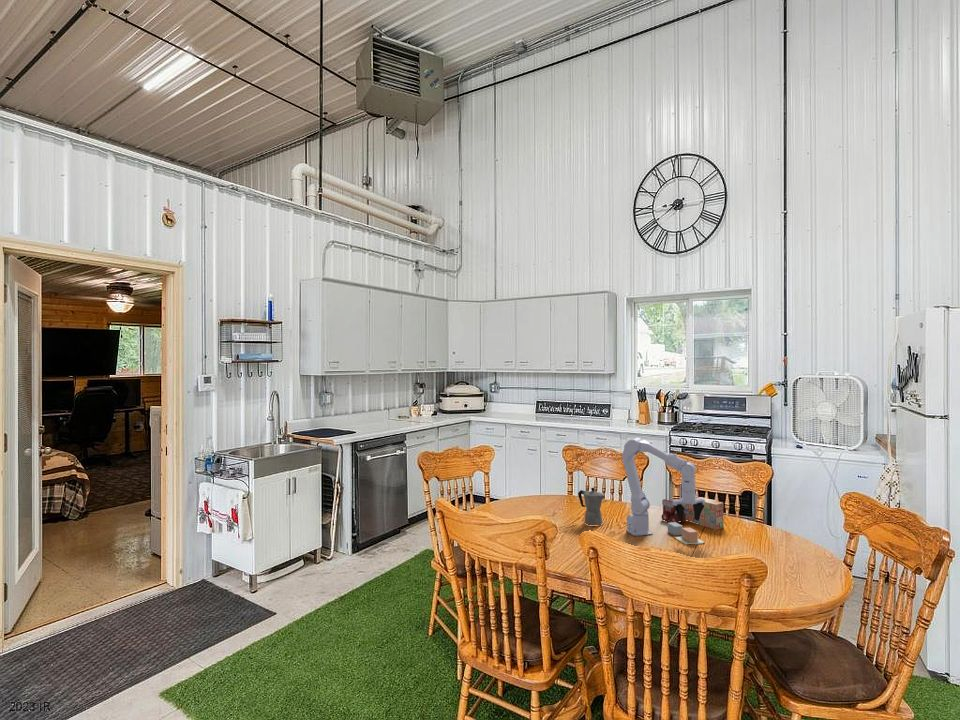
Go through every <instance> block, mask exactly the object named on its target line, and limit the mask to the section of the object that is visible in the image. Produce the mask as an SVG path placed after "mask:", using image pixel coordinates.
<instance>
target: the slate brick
mask: <svg viewBox="0 0 960 720" xmlns="http://www.w3.org/2000/svg"><path fill="white" fill-rule="evenodd" d="M682 528H684V526H683V525H682V524H680V523H679V522H678V523H676V522H671V521H670V522H667V532H668V531H669V532H670V533H669V532H668V533H669V534H671V533H672V534H674V535H682ZM672 534H671V535H672ZM674 535H673V536H674Z"/></svg>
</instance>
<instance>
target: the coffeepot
mask: <svg viewBox="0 0 960 720" xmlns="http://www.w3.org/2000/svg"><path fill="white" fill-rule="evenodd" d="M590 489H591V491H587V490H582V489H580V490H579V491H578V493H577V495H578V499H579V502H580V503H579V504H580V507H583V508H586V510H585V514H584V515H585V516H584V522H583V523H586V524H588V525H601V524H602V523H604V522H603V516H602V511H601V507H602V502H603V500H604V498H606V496H605V495H604V494H603V493H602V492H599V491H595V487H591V488H590ZM582 495H583V496H582ZM583 498H584V499H583ZM583 500H584V501H583ZM602 525H603V524H602Z"/></svg>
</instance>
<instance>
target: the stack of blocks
mask: <svg viewBox="0 0 960 720" xmlns="http://www.w3.org/2000/svg"><path fill="white" fill-rule="evenodd" d="M696 499H704V500H705V504H703V505H704V508H703V510H702V512H701V514H700V517H699V521H697V520H695V518H694V507H693V504H687V505H682V507H684V512H685V515H686V520H688V521H692V522H695V523H698V524H701V525H700V526H702V525H704V526H703V527H705V526H706V527H705V528H708V527H709V528H708V529H712V530H716V531H717V530H720V529H723V528H724V526H725V525H724V502H722V501H718V500H715V499H710V498H705V497H701V496H699V497H696ZM688 521H687V522H688ZM695 523H694V524H695ZM698 524H697V525H698Z"/></svg>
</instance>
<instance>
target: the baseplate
mask: <svg viewBox="0 0 960 720" xmlns="http://www.w3.org/2000/svg"><path fill="white" fill-rule="evenodd" d="M675 538H676V539H677V541H678V540H679V542H680V541H681V542H683V543H684V544H683V543H682V544H683V545H685V544H686V545H685V546H688V545H687V544H695V545H704V544H703V543H705V542H704V541H703V540H701V539H700V538H698V542H688V541H686V540H685V539H683V538H682V536H674V539H675ZM676 539H675V540H676ZM681 542H680V543H681ZM705 544H706V543H705Z"/></svg>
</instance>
